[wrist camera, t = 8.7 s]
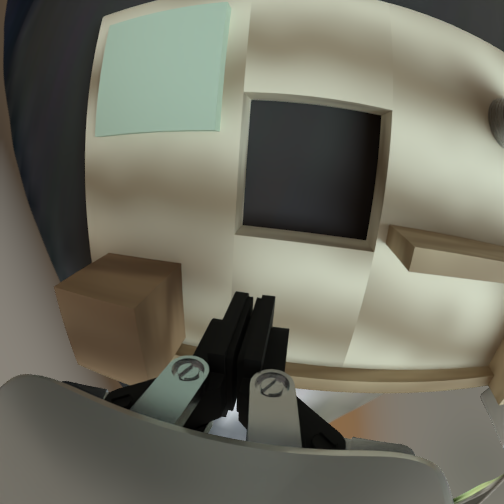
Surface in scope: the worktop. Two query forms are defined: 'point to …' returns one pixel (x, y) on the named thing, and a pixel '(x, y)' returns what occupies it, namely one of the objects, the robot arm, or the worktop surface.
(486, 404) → the medicine bottle
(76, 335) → the walnut cube
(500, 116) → the grey metal peg
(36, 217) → the worktop surface
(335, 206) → the worktop surface
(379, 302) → the board
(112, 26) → the pad
